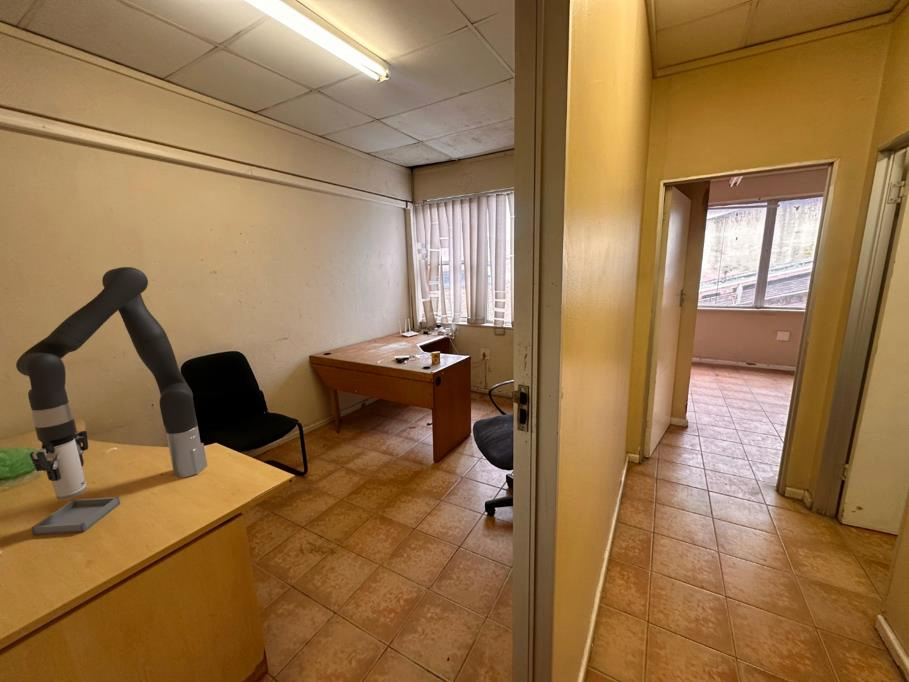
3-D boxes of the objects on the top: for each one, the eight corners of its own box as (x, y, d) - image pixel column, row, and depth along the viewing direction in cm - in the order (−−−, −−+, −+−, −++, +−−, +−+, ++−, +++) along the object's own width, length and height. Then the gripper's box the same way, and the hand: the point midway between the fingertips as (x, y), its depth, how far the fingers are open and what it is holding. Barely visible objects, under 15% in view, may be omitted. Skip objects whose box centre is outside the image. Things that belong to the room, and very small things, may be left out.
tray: (120, 503, 113) (118, 496, 113) (84, 532, 101) (82, 524, 101) (75, 506, 112) (73, 499, 112) (33, 535, 100) (30, 527, 100)
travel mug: (93, 488, 107) (78, 428, 103) (64, 502, 101) (47, 438, 97) (81, 484, 109) (66, 424, 105) (51, 497, 103) (34, 434, 99)
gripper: (41, 431, 93) (56, 487, 97) (91, 410, 107) (103, 459, 111) (11, 432, 93) (26, 489, 96) (65, 411, 107) (77, 460, 110)
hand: (67, 473), depth 104 cm, fingers closed on travel mug, 6 cm apart
